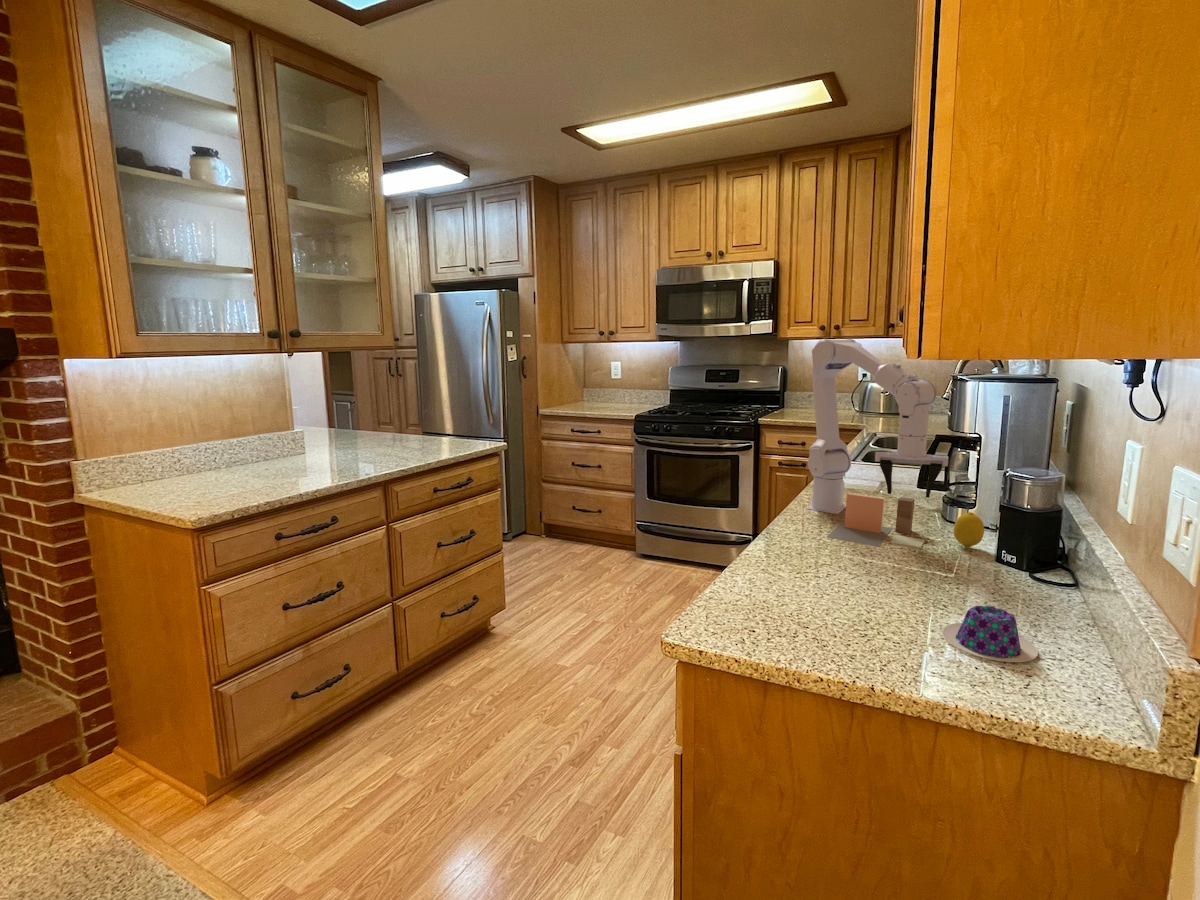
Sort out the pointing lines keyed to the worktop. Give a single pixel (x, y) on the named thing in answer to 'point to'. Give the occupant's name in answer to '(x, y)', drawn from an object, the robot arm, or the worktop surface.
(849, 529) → the mat
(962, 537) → the lemon
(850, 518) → the tile
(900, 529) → the block
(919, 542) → the board
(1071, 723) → the worktop surface
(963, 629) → the purple patterned hat
